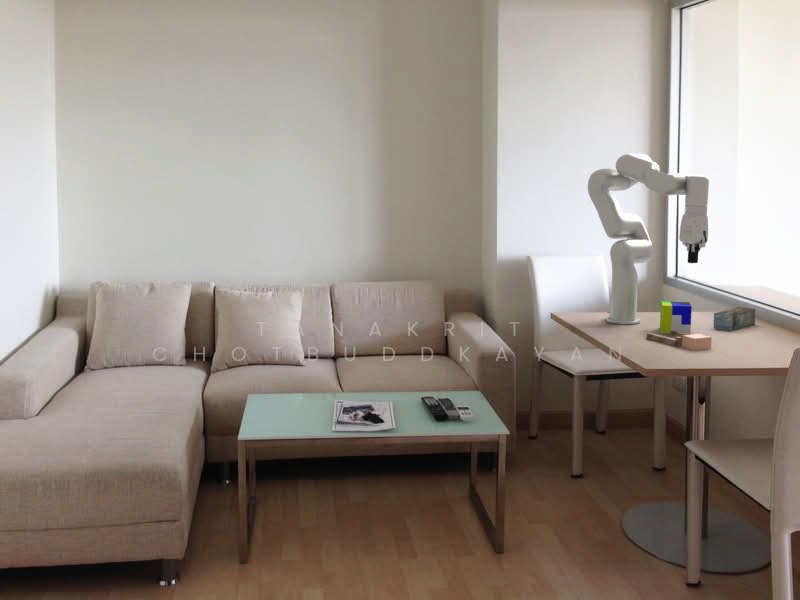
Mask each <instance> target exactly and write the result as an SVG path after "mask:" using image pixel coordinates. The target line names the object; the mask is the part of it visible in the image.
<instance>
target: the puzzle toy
mask: <svg viewBox="0 0 800 600" xmlns="http://www.w3.org/2000/svg"><path fill="white" fill-rule="evenodd" d="M692 309H693V308H692V305H691V303H690V302H689V301H660V315H659V317H660V318H659V319H660V320H659V322H660V323H659V329H660V332H661V334H670V331H678V332H682V333H686V334H690V335H691V333H692V332H691V327H692V311H693V310H692Z"/></svg>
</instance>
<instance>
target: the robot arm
mask: <svg viewBox="0 0 800 600" xmlns="http://www.w3.org/2000/svg"><path fill="white" fill-rule="evenodd" d="M638 183H640V184H643V185H644V186H645V187H646V188H647V189H648V190H650V191H652V192H655V193H658V194H661V195H664V196H685V200H684V213H683V214H682V217H681V221H680V227H679V237H678V239H679V241H680V242H681V243H682V245H683V246H685V247H686V251H687V263H688V264H697V263H699V253H700V251H701V249H702V248H706V243H707V242H708V238H709V220H708V215H707V214H708V202H709V186H710V178H709V177H708V176H707V175H705V174H704V175H703V174H702V175H701V174H691V173H666V172H663V171H660V166H659V165H658V164H657V163H656V162H654V161H652V159H651V158H650V157H649V156H648V155H646V154H643V153H642V154H641V153H636V154H635V153H629V154H628V153H627V154H623V155H620V157H619V158H617V159H616V162H615V168H601V169H597V170H595V171H593V172H592V173H591V174H590V175H589V179H588V182H587V192H588V195H589V198H590V200H591V202H592V204H593V206H594V207H595V210H596V212H597V215H598V217H599V220H600V221H601V225H602V227H603V230H604V232H605V234H606V237H608V238H609V239H613V240H617V241H615V242H614V243H612V245H611V247H610V249H609V250H610V251H609V254H610V255H609V257H610V263H611V298H610V299H611V300H610V308H609V309H606V311H605V313H606V314H608V315H609V316H607V318H606V322H607V323H611V324H615V325H616V324H617V325H636V324H640V323H641V318H639V317H637V305H638V304H637V303H638V282H639V281H638V280H639V279H638V271H637V269H636V267H635V264H643V263H648V262H650V260H651V259H652V258H653V255H654V246H653V242H652V240H651V238H650V235H649V234H648V231H647V228H646V225H645V224H644V222H643V220H642V218H641V217H640V216H639V215H637V214H635V213H624V212H623V211H622V209H621V208H620V204H619V202H618V200H617V199H616V198H615V197H614V196H613V195H612V194H611V192H612V191H614V192H615V191H625V190H626V191H627V190H628V189H630V188H632V187H633V186H634V185H637V184H638ZM610 191H611V192H610ZM619 239H620V240H619Z"/></svg>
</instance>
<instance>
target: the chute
mask: <svg viewBox="0 0 800 600" xmlns="http://www.w3.org/2000/svg"><path fill="white" fill-rule="evenodd" d="M701 334H702V335H705V336H707V334H704V333H701ZM683 335H691V333H690V334H686V333H682V332H678V331H670V333H669V337H668V336H664V335H660V334H655V333H652V332H647V333H646V339H647V340H651V341H654V342H659V343H663V344H668V345H669V346H670V345H672V346H675V347H678V348H679V347H682V340H683ZM672 337H673V338H672Z"/></svg>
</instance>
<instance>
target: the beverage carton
mask: <svg viewBox="0 0 800 600" xmlns="http://www.w3.org/2000/svg"><path fill="white" fill-rule="evenodd" d="M753 325H756V308H755V307H753V308H752V307H744V306H743V307H742V306H736V307H733V308H730V309H725V310H722V311H717V312H714V313H713V329H717V330H718V329H719V330H725V331H736V330H738V329H739V330H740V329H743V328H745V327H748V326H753Z"/></svg>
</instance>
